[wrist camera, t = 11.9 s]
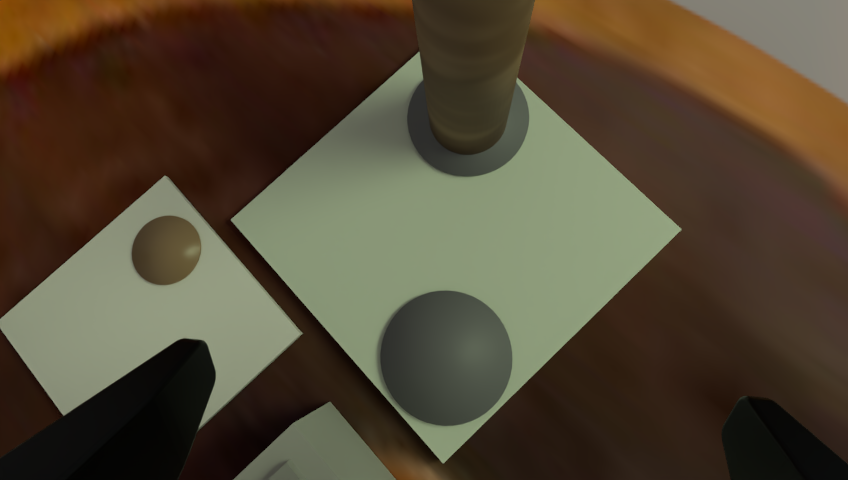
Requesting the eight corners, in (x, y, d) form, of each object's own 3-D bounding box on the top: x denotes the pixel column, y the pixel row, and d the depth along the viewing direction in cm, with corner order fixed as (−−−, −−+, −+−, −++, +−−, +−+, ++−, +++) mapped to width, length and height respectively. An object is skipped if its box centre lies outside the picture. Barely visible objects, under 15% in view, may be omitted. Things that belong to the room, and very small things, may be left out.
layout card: (127, 495, 21) (121, 499, 21) (1, 322, 23) (-7, 322, 23) (302, 333, 22) (299, 333, 22) (168, 177, 24) (163, 174, 23)
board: (443, 459, 21) (442, 464, 20) (236, 222, 23) (228, 219, 22) (675, 232, 22) (683, 228, 21) (454, 27, 24) (454, 17, 23)
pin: (448, 167, 22) (434, -57, 9) (417, 100, 23) (364, -192, 10) (520, 135, 22) (603, -131, 9) (486, 69, 23) (521, -261, 10)
